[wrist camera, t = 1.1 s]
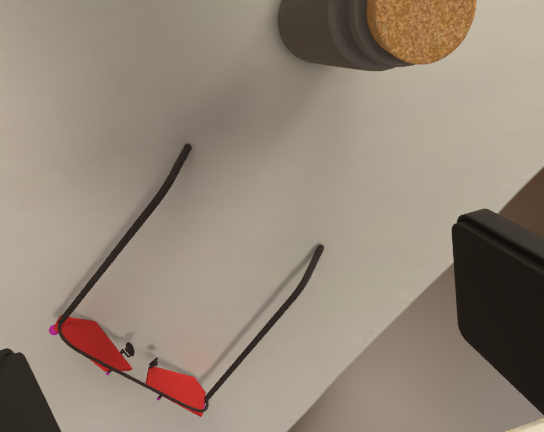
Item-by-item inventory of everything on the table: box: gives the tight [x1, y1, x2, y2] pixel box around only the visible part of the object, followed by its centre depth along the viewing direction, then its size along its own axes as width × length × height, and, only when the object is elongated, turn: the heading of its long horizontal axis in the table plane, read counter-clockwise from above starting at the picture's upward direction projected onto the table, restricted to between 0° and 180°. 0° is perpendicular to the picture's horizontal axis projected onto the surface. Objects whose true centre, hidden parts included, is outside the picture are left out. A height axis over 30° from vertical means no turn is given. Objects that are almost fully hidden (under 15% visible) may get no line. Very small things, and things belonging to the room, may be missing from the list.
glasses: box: [49, 144, 324, 417], centre depth 37 cm, size 14×16×5 cm
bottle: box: [278, 0, 476, 71], centre depth 28 cm, size 6×6×15 cm
